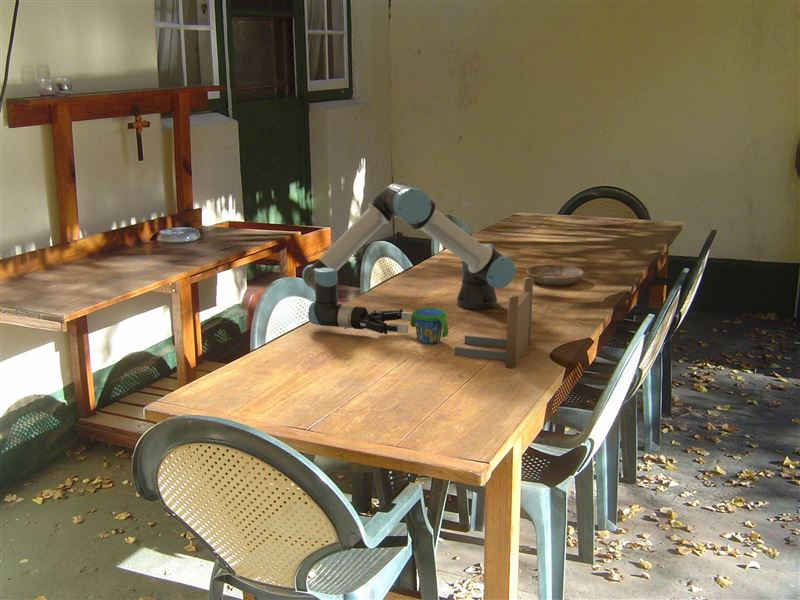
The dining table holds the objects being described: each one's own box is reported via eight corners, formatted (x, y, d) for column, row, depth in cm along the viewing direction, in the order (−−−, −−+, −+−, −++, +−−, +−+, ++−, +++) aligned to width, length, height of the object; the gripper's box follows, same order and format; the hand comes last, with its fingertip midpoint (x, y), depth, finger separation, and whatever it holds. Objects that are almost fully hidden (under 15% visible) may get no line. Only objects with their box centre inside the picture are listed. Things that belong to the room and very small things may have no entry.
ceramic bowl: (515, 278, 391) (515, 267, 390) (563, 273, 400) (563, 262, 399) (544, 291, 370) (545, 279, 369) (594, 286, 379) (595, 274, 378)
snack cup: (456, 344, 302) (457, 314, 300) (430, 350, 297) (431, 319, 294) (427, 333, 315) (427, 304, 312) (402, 338, 309) (402, 308, 306)
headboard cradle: (470, 336, 311) (471, 272, 305) (531, 342, 305) (533, 277, 299) (448, 361, 286) (450, 292, 280) (514, 368, 280) (517, 298, 274)
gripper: (366, 318, 324) (425, 324, 318) (339, 338, 301) (402, 345, 295) (366, 297, 322) (425, 302, 316) (339, 316, 299) (402, 322, 293)
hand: (414, 323), depth 305 cm, fingers open, 13 cm apart
